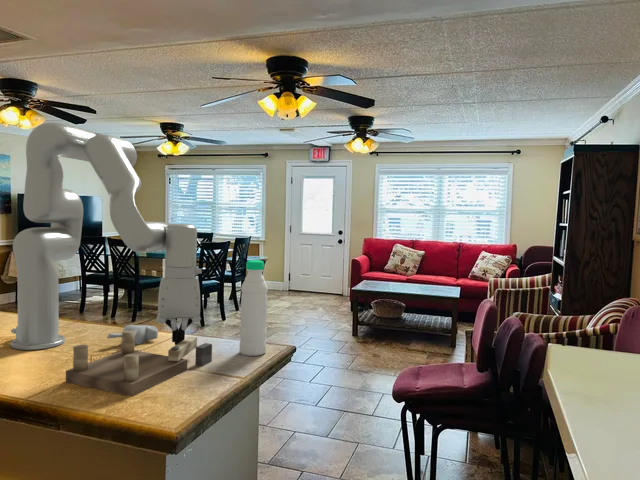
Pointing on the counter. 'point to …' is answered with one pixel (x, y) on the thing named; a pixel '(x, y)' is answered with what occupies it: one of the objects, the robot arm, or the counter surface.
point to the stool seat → (128, 368)
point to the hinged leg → (182, 349)
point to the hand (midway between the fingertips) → (178, 344)
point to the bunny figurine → (139, 333)
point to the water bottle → (253, 310)
